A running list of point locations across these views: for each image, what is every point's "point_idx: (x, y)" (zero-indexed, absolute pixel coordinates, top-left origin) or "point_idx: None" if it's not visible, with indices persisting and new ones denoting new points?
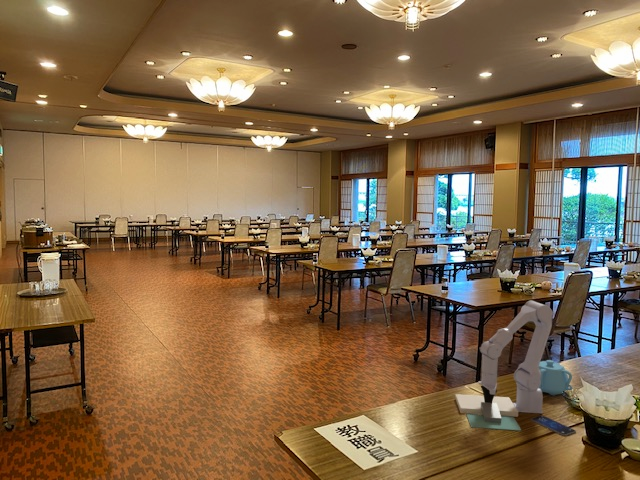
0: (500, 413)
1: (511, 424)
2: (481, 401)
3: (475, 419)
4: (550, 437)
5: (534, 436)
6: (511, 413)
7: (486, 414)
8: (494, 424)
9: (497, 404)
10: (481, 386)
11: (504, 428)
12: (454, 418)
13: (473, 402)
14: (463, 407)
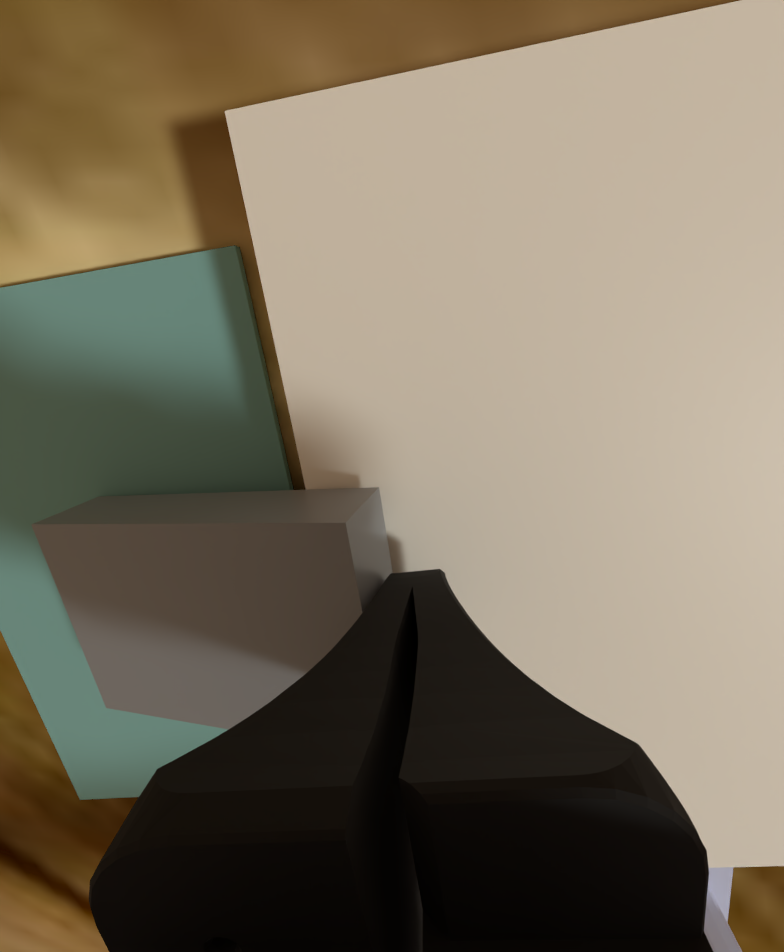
0: None
1: (160, 744)
2: (634, 511)
3: (97, 381)
4: (85, 940)
5: (39, 857)
6: None
7: (85, 551)
8: None
9: None
10: (560, 819)
11: (33, 674)
12: (13, 38)
13: (566, 374)
14: (276, 171)
